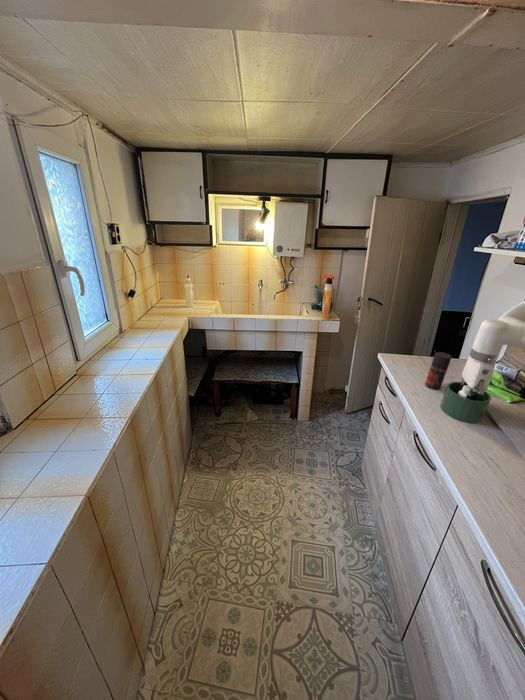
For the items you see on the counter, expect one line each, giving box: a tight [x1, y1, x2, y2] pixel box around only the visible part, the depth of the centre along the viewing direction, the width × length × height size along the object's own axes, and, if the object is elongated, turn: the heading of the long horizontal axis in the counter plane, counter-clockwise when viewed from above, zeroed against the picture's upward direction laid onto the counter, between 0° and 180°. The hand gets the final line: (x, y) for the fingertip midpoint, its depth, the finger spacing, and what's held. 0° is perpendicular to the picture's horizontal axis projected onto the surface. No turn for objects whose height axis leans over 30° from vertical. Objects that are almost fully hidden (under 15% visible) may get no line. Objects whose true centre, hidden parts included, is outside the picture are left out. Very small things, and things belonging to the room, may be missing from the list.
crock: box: [439, 381, 492, 424], centre depth 104 cm, size 13×13×9 cm
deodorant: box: [424, 351, 452, 391], centre depth 118 cm, size 6×6×15 cm
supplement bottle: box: [458, 385, 476, 398], centre depth 103 cm, size 5×5×10 cm
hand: (465, 399), depth 103 cm, fingers closed on supplement bottle, 5 cm apart
